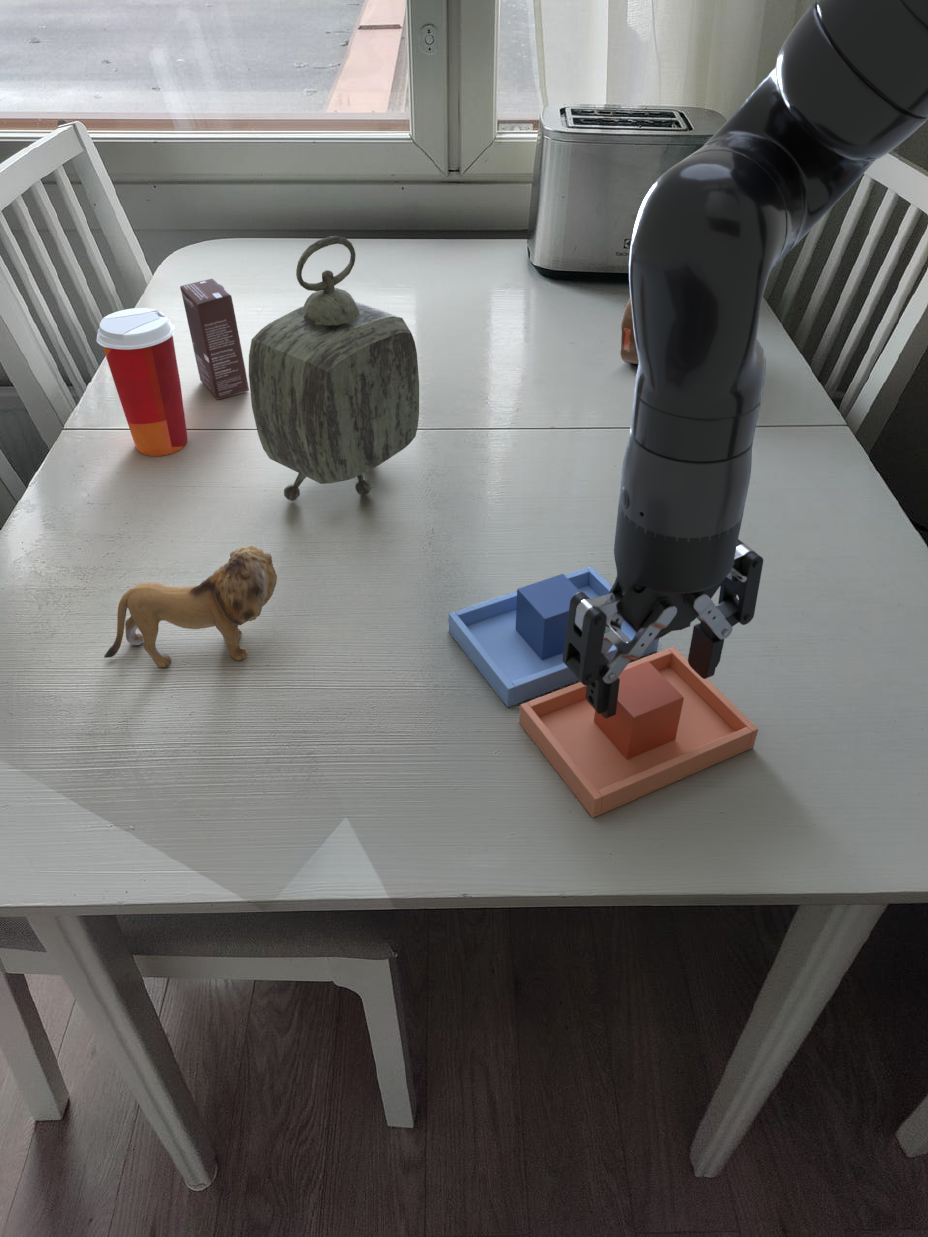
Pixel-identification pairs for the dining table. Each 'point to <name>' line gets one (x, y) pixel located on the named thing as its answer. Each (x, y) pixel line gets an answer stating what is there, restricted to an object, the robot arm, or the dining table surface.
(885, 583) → the dining table surface
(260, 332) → the tabletop clock
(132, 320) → the paper cup
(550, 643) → the blue block
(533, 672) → the blue tray
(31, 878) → the dining table surface
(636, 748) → the terracotta block
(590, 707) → the clay tray
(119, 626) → the lion figurine
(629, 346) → the tin
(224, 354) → the box
